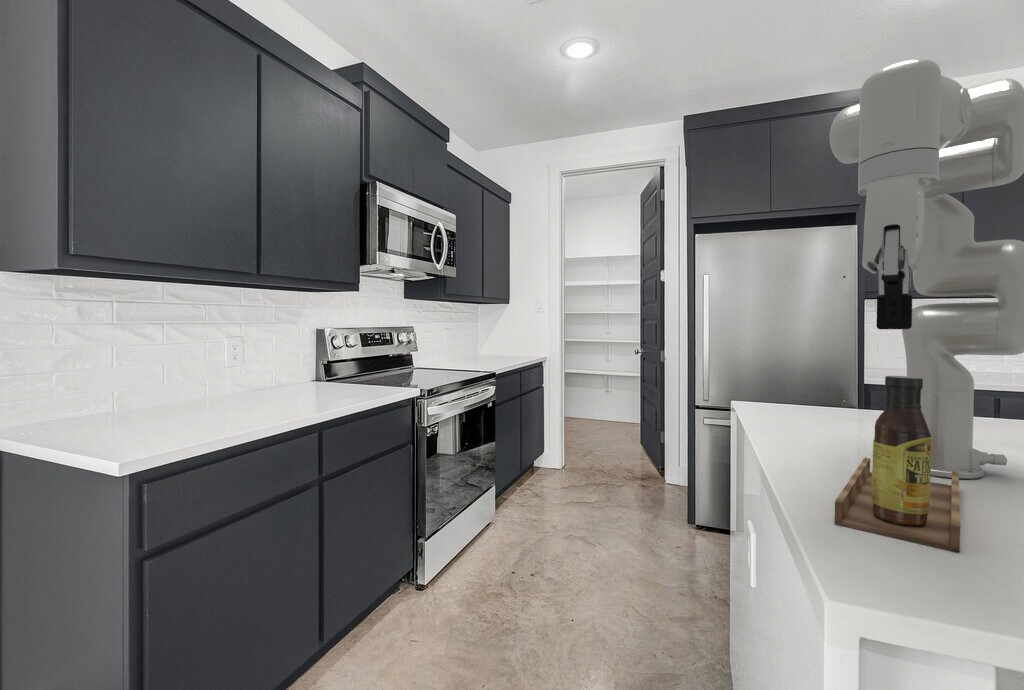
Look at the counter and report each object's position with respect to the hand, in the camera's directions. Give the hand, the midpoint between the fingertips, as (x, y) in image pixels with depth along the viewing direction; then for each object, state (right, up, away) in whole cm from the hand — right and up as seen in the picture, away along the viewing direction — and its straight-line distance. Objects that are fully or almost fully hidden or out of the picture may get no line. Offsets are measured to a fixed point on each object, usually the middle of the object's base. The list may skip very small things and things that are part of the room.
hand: (893, 328), depth 57 cm
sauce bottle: (+8, -26, +9) cm, 29 cm away
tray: (+13, -27, +15) cm, 33 cm away
